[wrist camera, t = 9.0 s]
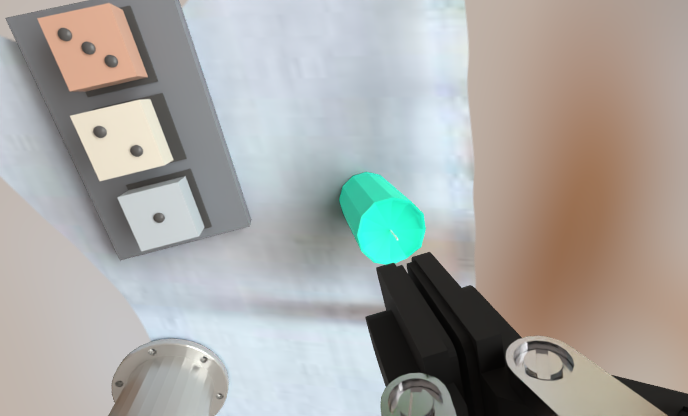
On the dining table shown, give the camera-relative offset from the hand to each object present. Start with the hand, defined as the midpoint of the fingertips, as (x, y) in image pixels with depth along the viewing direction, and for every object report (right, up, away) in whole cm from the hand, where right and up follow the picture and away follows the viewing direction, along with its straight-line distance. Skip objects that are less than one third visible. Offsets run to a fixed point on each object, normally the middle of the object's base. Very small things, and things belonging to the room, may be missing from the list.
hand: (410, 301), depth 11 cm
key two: (-20, +9, +20) cm, 29 cm away
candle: (0, +4, +30) cm, 30 cm away
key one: (-19, +3, +24) cm, 30 cm away
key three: (-22, +16, +19) cm, 33 cm away
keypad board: (-21, +10, +24) cm, 33 cm away
